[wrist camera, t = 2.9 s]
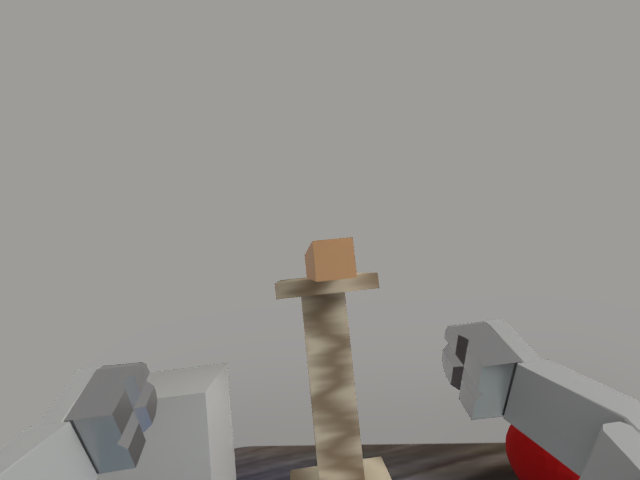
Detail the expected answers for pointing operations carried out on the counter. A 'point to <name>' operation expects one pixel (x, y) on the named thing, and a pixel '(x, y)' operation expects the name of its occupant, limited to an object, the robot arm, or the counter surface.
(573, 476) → the fruit
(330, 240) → the bar
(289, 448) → the counter surface
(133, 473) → the pedestal
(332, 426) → the tall stand
